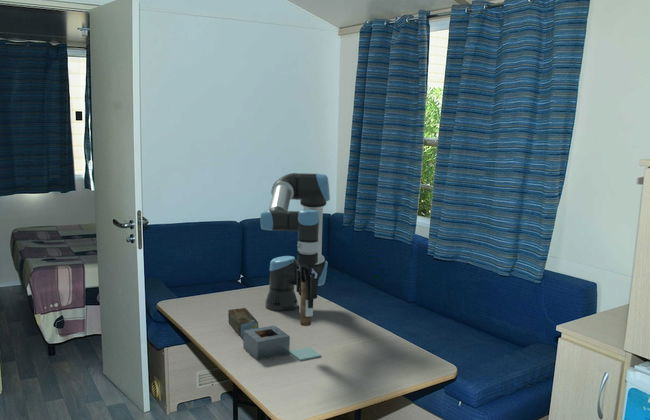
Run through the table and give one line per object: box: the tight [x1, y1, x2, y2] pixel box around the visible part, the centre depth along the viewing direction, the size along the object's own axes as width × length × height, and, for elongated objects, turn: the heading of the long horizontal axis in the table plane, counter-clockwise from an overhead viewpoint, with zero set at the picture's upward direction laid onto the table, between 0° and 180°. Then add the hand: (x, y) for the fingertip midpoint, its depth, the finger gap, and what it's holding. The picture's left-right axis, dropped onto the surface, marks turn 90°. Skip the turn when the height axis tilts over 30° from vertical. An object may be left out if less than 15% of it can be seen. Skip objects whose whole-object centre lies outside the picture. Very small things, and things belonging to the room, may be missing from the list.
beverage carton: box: [227, 307, 259, 338], centre depth 248 cm, size 8×19×7 cm, turn 24°
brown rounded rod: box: [299, 281, 312, 327], centre depth 220 cm, size 4×4×16 cm
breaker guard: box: [242, 325, 291, 361], centre depth 225 cm, size 13×13×7 cm
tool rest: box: [289, 346, 322, 362], centre depth 223 cm, size 9×9×1 cm
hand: (306, 314), depth 221 cm, fingers closed on brown rounded rod, 4 cm apart
